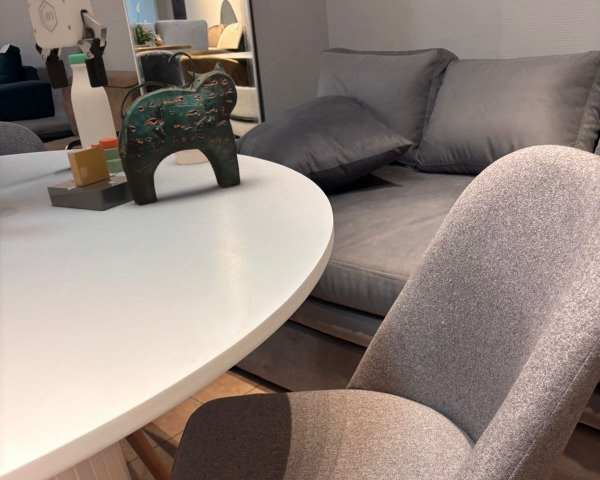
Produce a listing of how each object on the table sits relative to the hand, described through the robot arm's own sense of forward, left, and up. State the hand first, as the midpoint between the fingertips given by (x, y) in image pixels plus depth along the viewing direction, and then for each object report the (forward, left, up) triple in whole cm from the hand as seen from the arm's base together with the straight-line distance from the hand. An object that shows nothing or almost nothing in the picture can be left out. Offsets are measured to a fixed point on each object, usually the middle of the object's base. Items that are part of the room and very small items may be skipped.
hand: (79, 87), depth 104 cm
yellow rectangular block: (+6, -7, -13) cm, 16 cm away
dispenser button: (-12, +14, -12) cm, 22 cm away
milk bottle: (-26, +24, -16) cm, 39 cm away
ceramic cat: (+20, +1, -16) cm, 25 cm away
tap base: (+6, -7, -16) cm, 19 cm away
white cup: (+2, +22, -16) cm, 27 cm away
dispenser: (-12, +14, -16) cm, 24 cm away
